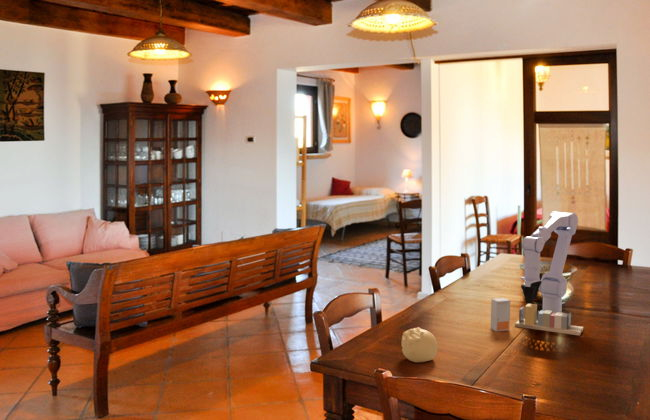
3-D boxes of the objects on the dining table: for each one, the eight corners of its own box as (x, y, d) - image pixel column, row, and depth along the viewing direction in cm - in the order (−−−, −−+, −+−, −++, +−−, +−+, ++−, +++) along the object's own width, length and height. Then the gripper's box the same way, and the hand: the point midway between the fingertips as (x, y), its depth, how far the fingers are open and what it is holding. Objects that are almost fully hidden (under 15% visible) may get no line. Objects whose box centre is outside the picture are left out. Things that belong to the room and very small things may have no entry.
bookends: (522, 319, 254) (522, 306, 253) (570, 326, 245) (571, 312, 244) (519, 322, 250) (519, 309, 249) (568, 329, 240) (568, 315, 240)
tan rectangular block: (527, 320, 253) (528, 303, 252) (536, 321, 251) (537, 304, 250) (524, 323, 249) (525, 306, 248) (534, 324, 247) (534, 307, 246)
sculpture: (398, 354, 219) (398, 323, 217) (432, 353, 219) (432, 323, 218) (404, 366, 207) (404, 334, 206) (440, 364, 208) (441, 333, 207)
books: (540, 322, 250) (540, 309, 250) (568, 326, 245) (569, 312, 244) (537, 325, 246) (537, 312, 245) (566, 329, 241) (567, 316, 240)
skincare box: (496, 332, 242) (496, 301, 241) (490, 328, 246) (490, 298, 245) (510, 330, 244) (510, 300, 242) (504, 327, 248) (504, 297, 247)
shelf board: (519, 321, 256) (519, 318, 256) (583, 329, 244) (583, 326, 244) (514, 326, 249) (515, 323, 249) (579, 335, 237) (579, 332, 237)
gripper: (525, 262, 255) (525, 295, 257) (517, 269, 243) (516, 303, 245) (544, 264, 252) (542, 297, 254) (536, 271, 239) (534, 306, 241)
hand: (531, 300), depth 249 cm, fingers open, 7 cm apart
